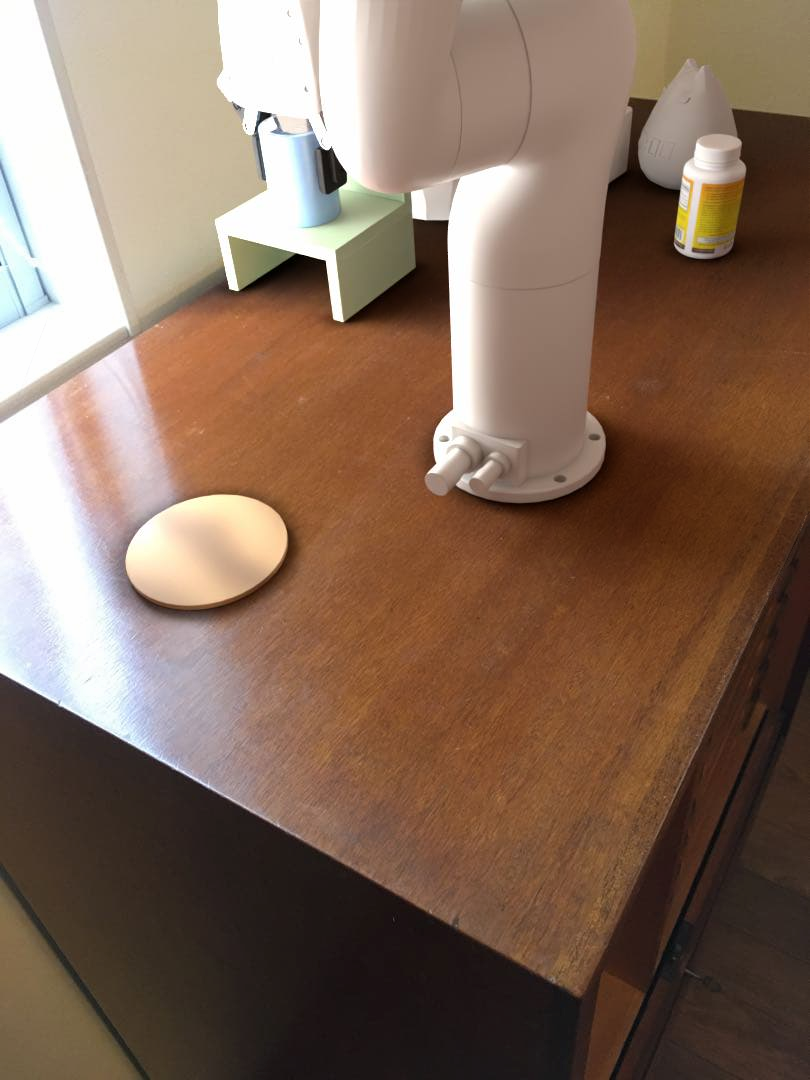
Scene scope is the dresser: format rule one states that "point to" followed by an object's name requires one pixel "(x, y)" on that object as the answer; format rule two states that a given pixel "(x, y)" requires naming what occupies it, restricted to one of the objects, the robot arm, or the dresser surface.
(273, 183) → the cup
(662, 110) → the toy character
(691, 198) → the supplement bottle
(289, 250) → the shelf
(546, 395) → the robot arm
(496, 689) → the dresser surface
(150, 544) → the coaster
